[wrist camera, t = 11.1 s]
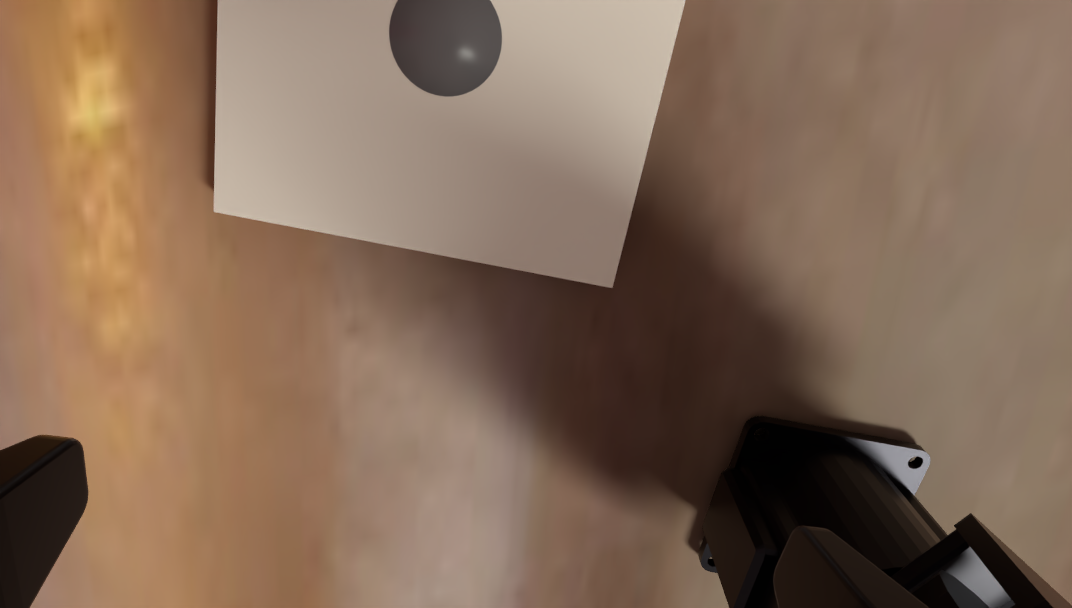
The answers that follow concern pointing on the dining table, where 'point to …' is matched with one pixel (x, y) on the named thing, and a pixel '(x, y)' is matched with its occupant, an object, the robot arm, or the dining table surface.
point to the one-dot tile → (444, 123)
